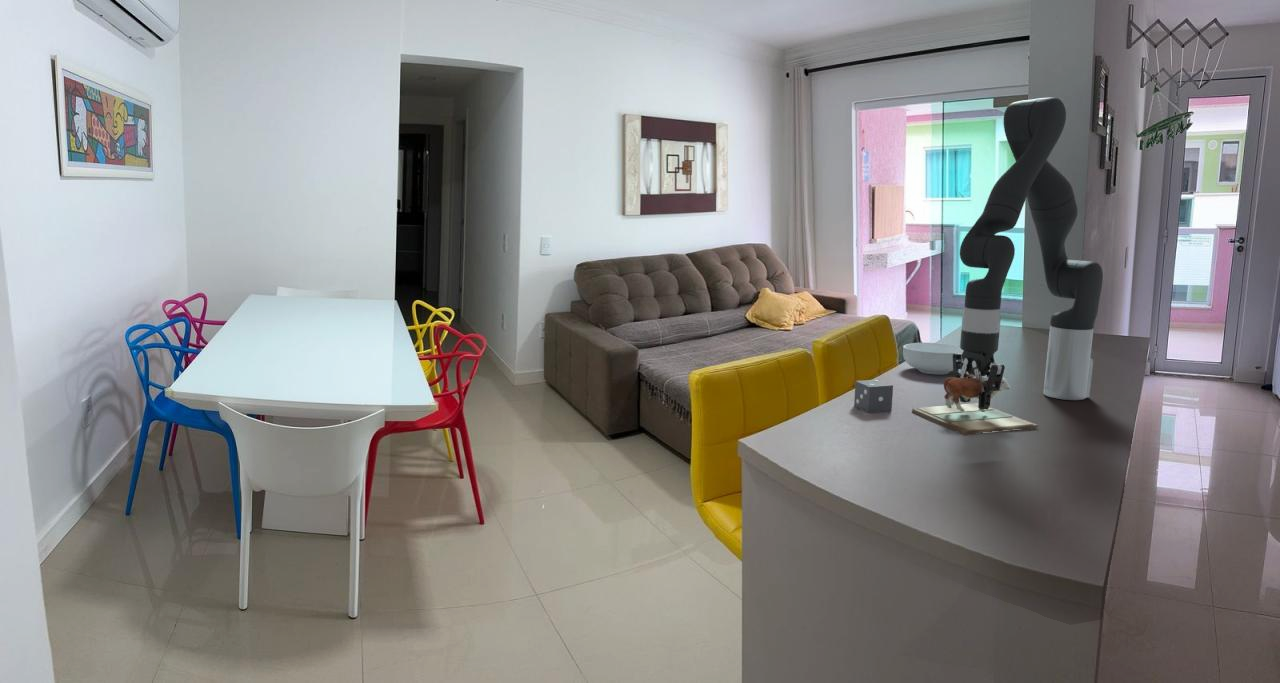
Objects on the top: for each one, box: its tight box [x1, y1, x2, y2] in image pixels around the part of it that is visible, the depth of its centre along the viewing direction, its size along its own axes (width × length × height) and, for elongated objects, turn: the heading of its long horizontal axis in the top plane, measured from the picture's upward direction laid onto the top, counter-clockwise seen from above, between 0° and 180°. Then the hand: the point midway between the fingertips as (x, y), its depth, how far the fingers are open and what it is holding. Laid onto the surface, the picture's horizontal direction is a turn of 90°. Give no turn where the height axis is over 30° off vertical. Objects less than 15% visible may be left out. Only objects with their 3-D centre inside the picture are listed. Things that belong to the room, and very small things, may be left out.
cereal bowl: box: [902, 342, 964, 376], centre depth 216 cm, size 17×17×7 cm
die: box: [853, 379, 894, 414], centre depth 177 cm, size 6×6×6 cm
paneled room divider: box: [911, 402, 1039, 436], centre depth 169 cm, size 18×18×1 cm
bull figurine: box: [943, 375, 1011, 412], centre depth 168 cm, size 4×13×8 cm, turn 79°
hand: (974, 404), depth 168 cm, fingers closed on bull figurine, 5 cm apart
